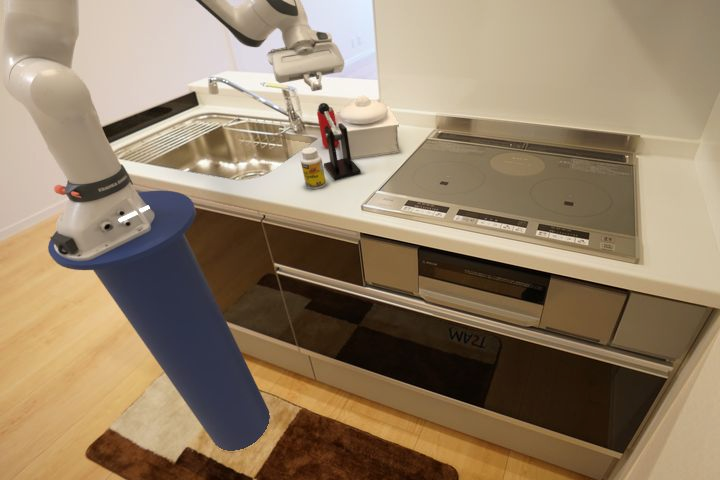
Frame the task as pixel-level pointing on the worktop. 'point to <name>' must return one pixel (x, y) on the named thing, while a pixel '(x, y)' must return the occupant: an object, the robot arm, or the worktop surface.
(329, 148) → the bracket
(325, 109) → the tap lever
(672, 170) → the worktop surface
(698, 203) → the worktop surface
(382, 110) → the white box with dome
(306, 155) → the supplement bottle
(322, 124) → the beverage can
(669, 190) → the worktop surface
